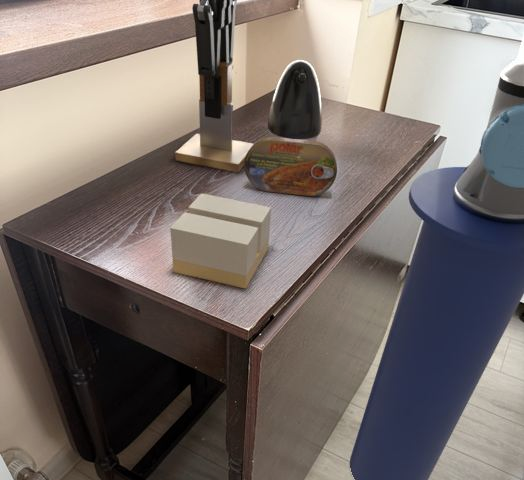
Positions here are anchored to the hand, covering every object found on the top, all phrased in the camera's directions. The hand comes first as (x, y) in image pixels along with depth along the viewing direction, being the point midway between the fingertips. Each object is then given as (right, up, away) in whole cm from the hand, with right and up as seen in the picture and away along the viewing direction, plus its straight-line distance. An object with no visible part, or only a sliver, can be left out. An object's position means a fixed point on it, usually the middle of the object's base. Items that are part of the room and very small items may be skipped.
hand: (216, 113), depth 89 cm
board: (0, -5, +5) cm, 8 cm away
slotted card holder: (+3, -29, -20) cm, 35 cm away
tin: (+12, -15, -3) cm, 19 cm away
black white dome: (+14, -2, +10) cm, 17 cm away
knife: (0, -4, +4) cm, 6 cm away
